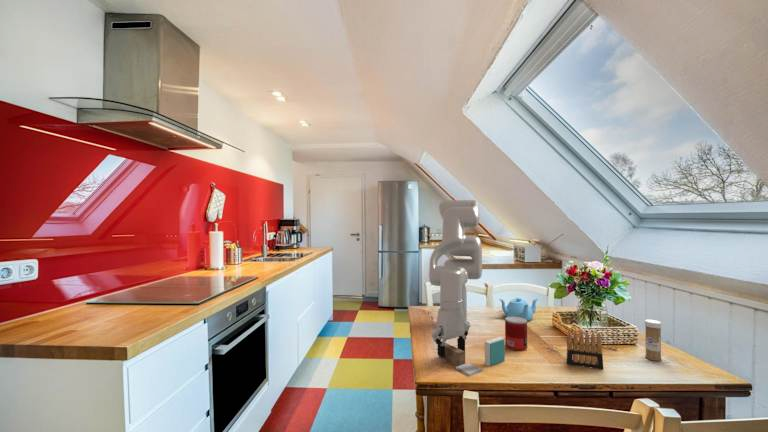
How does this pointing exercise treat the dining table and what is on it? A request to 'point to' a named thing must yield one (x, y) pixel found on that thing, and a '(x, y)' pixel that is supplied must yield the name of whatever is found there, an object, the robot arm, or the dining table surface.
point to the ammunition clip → (584, 351)
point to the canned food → (516, 333)
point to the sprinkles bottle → (653, 340)
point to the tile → (494, 351)
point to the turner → (459, 360)
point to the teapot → (519, 308)
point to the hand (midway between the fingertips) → (451, 353)
